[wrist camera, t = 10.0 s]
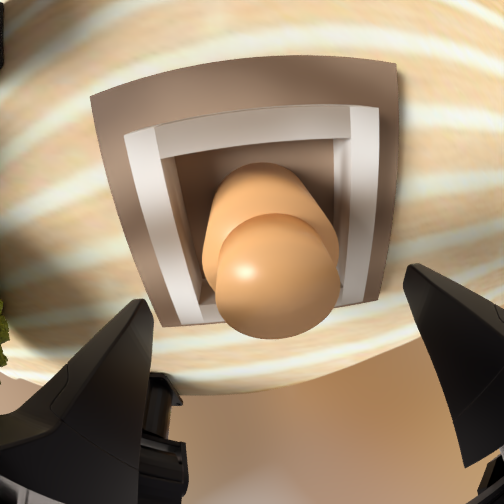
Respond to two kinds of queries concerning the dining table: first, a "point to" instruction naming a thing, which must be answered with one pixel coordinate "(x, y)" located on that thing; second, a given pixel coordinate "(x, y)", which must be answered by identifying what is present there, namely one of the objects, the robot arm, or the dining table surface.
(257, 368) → the dining table surface
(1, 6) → the battery
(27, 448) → the robot arm
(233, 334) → the dining table surface
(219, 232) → the tan rounded cylinder
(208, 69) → the collar board
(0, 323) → the green leafy plant
